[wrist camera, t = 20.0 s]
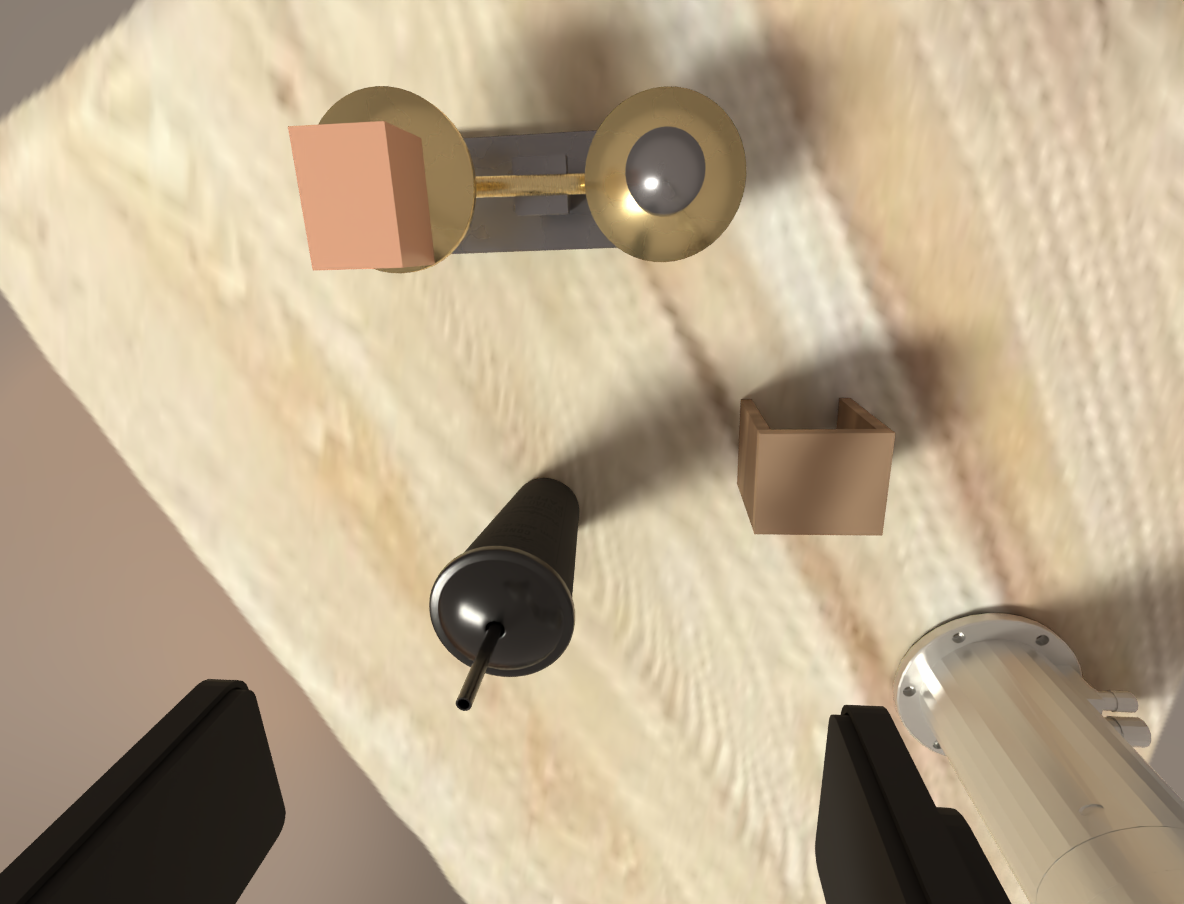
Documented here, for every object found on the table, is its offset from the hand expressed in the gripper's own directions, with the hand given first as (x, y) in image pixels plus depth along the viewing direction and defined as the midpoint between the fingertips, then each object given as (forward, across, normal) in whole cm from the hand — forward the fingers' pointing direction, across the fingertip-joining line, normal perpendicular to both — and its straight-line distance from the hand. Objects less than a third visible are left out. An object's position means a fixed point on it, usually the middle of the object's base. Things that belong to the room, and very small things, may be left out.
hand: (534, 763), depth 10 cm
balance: (+32, +4, -11) cm, 34 cm away
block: (+20, +11, -13) cm, 26 cm away
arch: (+32, -11, +5) cm, 35 cm away
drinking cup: (+32, +6, +10) cm, 35 cm away
